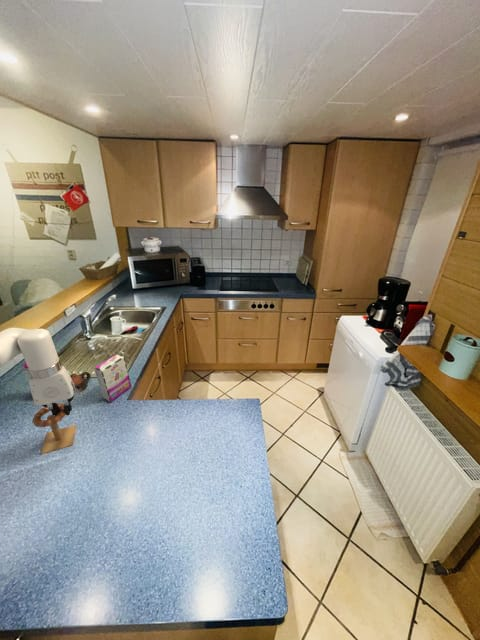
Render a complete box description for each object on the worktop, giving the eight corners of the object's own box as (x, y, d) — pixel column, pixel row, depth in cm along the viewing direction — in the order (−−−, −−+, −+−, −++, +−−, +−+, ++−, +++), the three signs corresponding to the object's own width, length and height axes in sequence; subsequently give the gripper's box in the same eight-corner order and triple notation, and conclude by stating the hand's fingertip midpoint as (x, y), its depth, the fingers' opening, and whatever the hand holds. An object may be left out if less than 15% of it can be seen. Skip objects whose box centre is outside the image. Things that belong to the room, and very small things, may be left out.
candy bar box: (123, 383, 115) (116, 353, 108) (131, 387, 113) (125, 356, 106) (102, 399, 105) (93, 367, 98) (110, 403, 103) (101, 370, 97)
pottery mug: (74, 400, 105) (59, 386, 102) (68, 399, 112) (54, 386, 109) (98, 379, 113) (85, 366, 110) (92, 379, 119) (79, 366, 117)
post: (41, 456, 81) (29, 431, 77) (48, 435, 89) (37, 411, 84) (73, 447, 85) (64, 422, 80) (77, 427, 92) (68, 403, 87)
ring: (30, 432, 77) (28, 427, 76) (37, 411, 84) (35, 407, 83) (65, 422, 80) (63, 418, 79) (69, 403, 88) (68, 399, 87)
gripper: (8, 382, 70) (30, 430, 77) (75, 369, 75) (89, 414, 83) (17, 367, 76) (37, 413, 84) (78, 356, 82) (91, 399, 89)
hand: (63, 413), depth 83 cm, fingers closed on ring, 2 cm apart
